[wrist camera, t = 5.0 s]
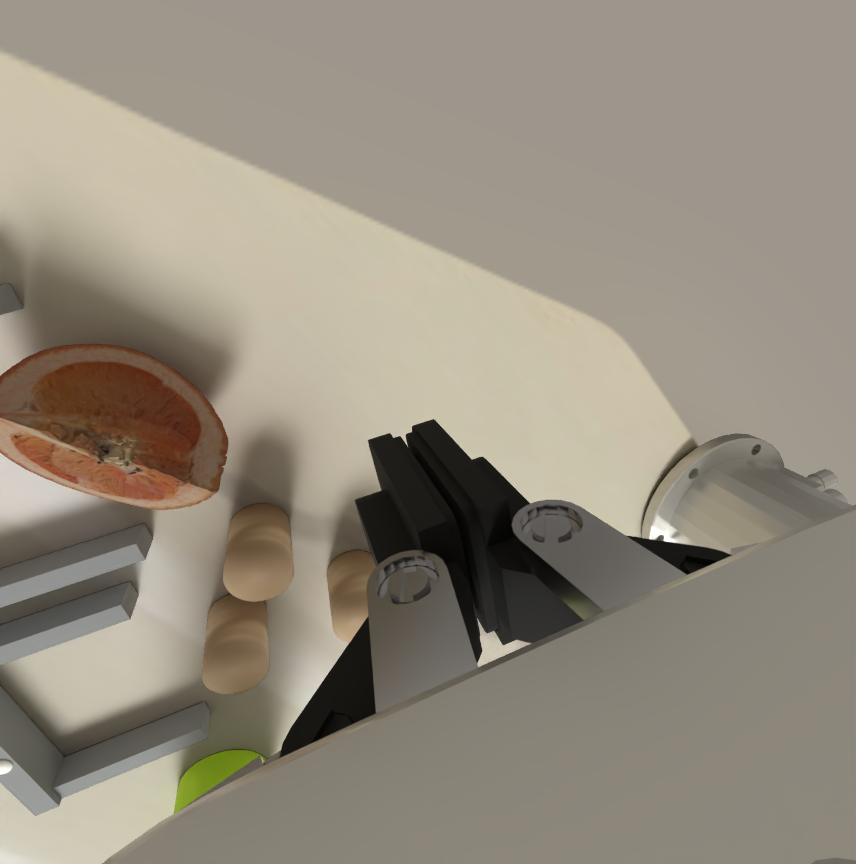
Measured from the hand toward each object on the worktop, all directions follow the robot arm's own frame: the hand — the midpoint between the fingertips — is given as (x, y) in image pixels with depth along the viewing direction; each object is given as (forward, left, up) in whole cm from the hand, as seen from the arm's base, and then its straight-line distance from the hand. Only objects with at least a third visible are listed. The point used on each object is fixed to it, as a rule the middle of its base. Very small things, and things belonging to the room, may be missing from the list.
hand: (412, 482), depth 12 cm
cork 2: (+10, +13, -14) cm, 22 cm away
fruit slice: (+10, 0, -14) cm, 17 cm away
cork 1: (+7, +8, -14) cm, 17 cm away
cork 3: (+3, +13, -14) cm, 19 cm away
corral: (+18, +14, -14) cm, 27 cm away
